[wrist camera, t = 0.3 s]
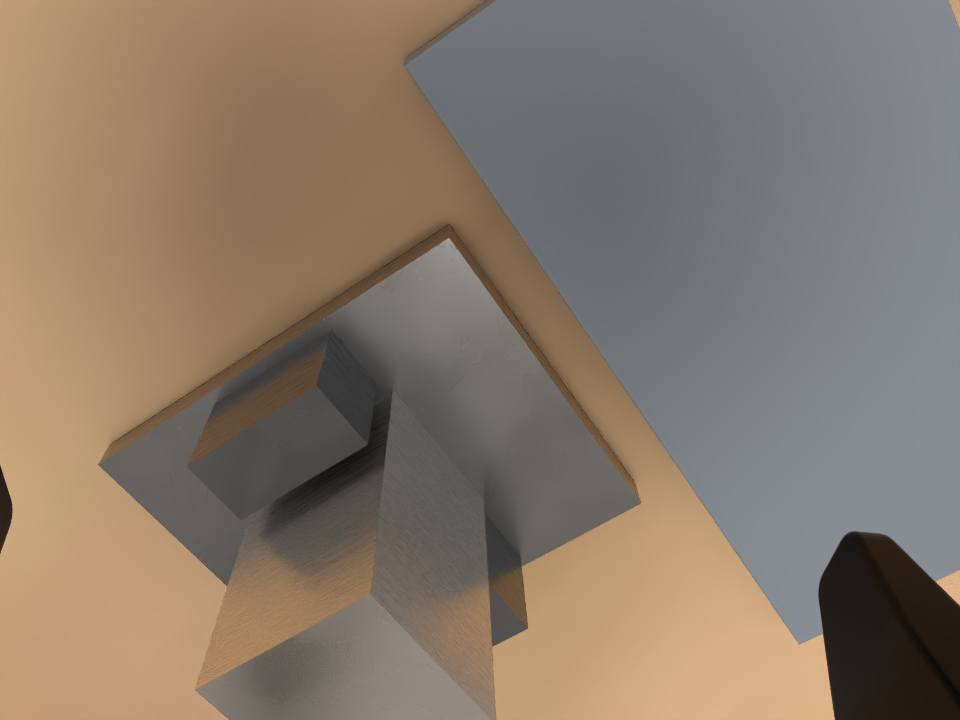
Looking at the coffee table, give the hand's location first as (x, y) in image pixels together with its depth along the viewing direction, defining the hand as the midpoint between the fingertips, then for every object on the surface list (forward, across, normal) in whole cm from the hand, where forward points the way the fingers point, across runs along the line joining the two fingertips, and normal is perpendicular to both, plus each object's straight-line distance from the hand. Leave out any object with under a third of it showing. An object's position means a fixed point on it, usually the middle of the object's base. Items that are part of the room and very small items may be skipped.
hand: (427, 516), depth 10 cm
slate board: (+14, -10, +6) cm, 18 cm away
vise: (+13, +2, +12) cm, 18 cm away
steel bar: (+12, +2, +12) cm, 17 cm away
